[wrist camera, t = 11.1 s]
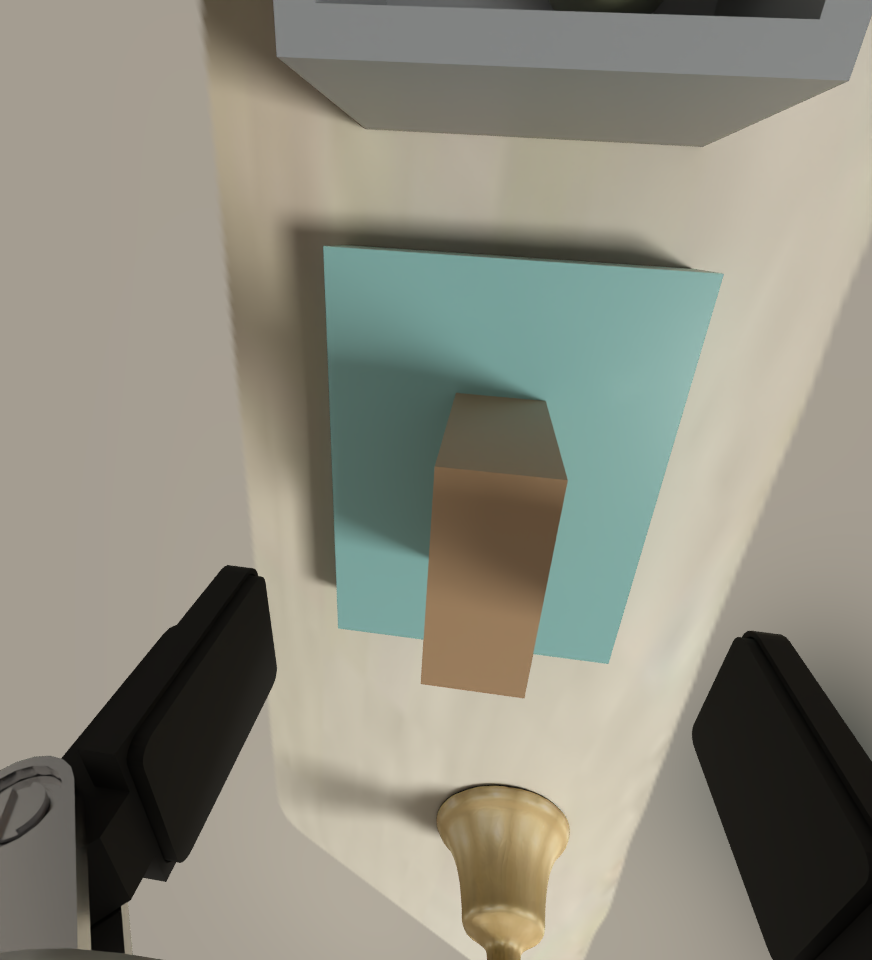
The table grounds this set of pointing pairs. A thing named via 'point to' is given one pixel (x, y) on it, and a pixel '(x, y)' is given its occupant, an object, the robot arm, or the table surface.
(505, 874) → the hand bell
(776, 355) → the table surface
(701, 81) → the box
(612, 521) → the lid
